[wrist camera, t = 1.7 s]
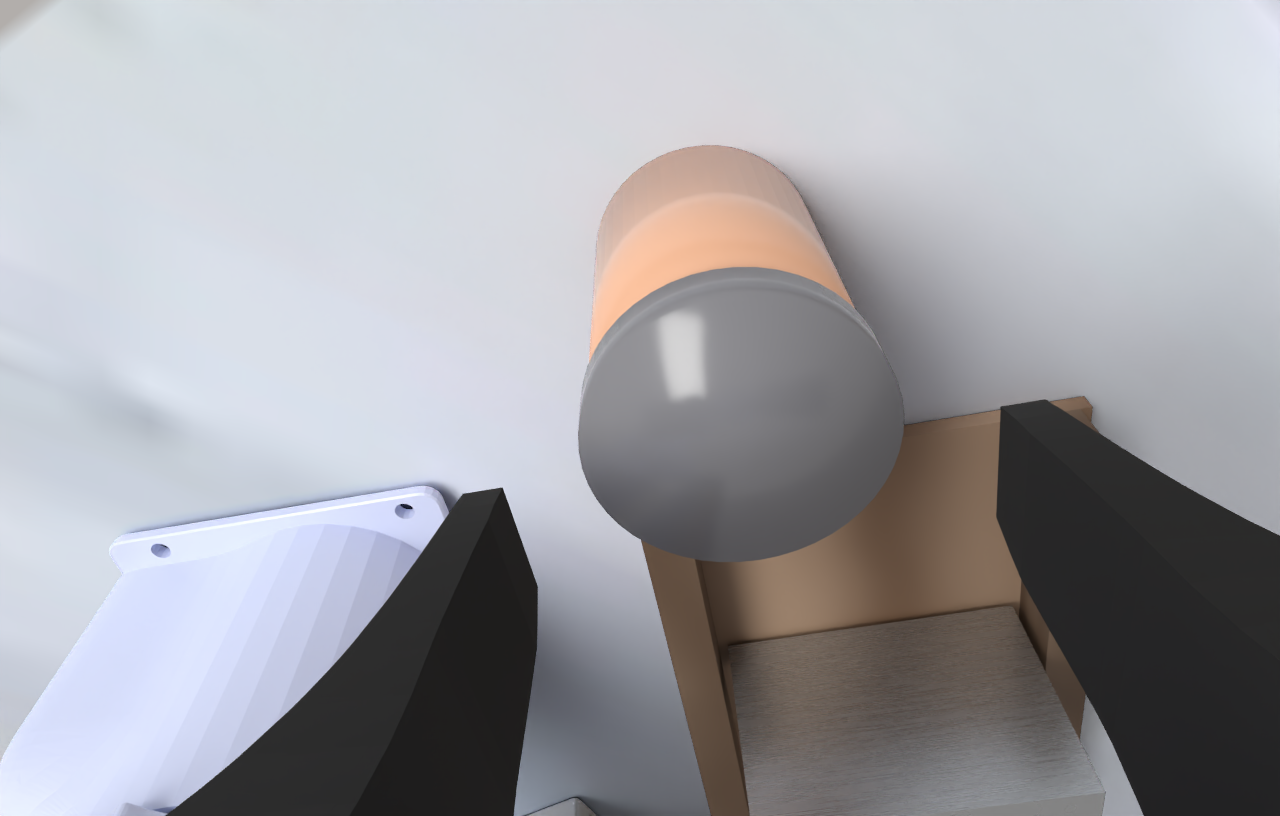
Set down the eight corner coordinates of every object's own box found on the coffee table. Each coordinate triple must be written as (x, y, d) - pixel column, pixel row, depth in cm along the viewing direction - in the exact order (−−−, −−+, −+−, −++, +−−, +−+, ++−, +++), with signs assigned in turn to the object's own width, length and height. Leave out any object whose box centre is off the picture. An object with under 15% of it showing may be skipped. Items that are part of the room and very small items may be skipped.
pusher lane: (734, 899, 36) (750, 1056, 31) (626, 470, 24) (627, 624, 19) (1035, 864, 35) (1098, 1021, 30) (1084, 396, 23) (1200, 540, 18)
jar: (616, 367, 22) (614, 581, 16) (568, 165, 19) (542, 330, 13) (825, 331, 22) (907, 537, 15) (807, 119, 19) (899, 266, 13)
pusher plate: (733, 672, 27) (757, 862, 22) (727, 646, 27) (752, 835, 22) (1010, 633, 27) (1100, 821, 22) (1012, 605, 26) (1105, 792, 21)
